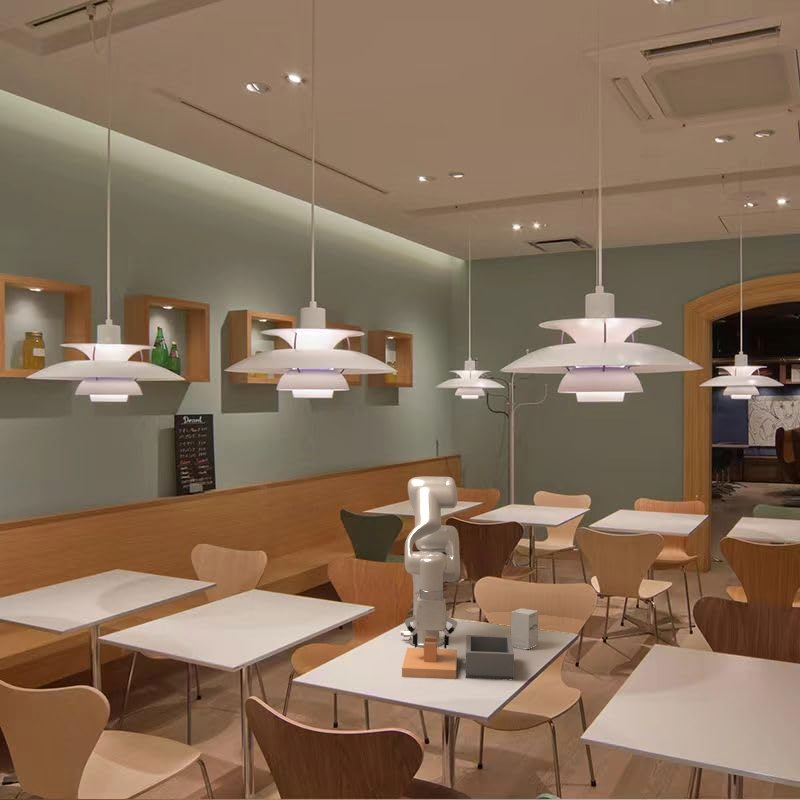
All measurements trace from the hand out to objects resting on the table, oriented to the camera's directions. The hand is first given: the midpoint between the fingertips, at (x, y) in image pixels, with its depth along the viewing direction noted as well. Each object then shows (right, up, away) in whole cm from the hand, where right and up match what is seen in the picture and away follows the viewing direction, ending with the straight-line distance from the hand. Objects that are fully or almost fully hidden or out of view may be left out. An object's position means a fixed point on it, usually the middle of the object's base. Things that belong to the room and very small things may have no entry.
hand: (430, 646), depth 271 cm
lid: (0, -6, 0) cm, 6 cm away
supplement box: (+34, -7, +24) cm, 42 cm away
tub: (+19, -7, -2) cm, 20 cm away
